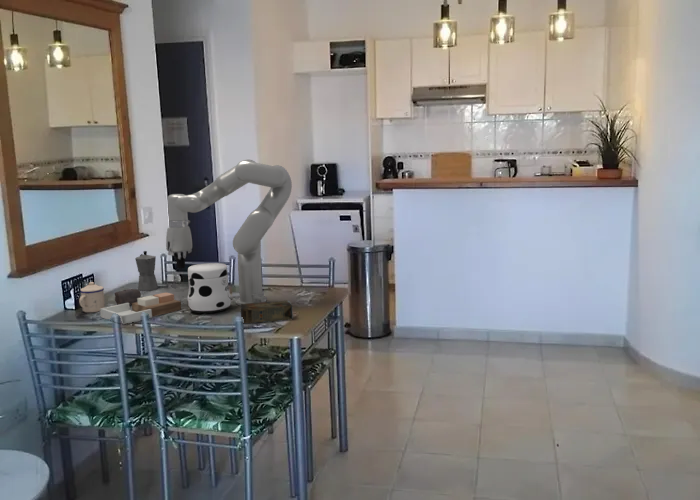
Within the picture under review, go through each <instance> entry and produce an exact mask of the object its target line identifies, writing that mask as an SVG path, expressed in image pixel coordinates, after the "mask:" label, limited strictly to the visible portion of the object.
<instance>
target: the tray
mask: <svg viewBox="0 0 700 500" xmlns="http://www.w3.org/2000/svg"><path fill="white" fill-rule="evenodd" d="M130 306H131V305H129V303H124V304H119V305H117V304H116V305H111V306H107V307H106V306H105V308H101V309H100V311H99V312H100V313H99V314H100V318H102V319H105V320H107V319H110V318H111V316H112V314H113V313H116V314H118V315H119V316H120V318H121V321H122V323H123V324H125V323H130V324H133V323H132V322H134V323H137V322H138V323H139V322H141V321H140V315H141V313H142V312H145V313H148V314H149V316H150V318H151V319H153V317H152V311H151V309H148V310H144V311H139V312H135V311H132V310H131V308H130Z"/></svg>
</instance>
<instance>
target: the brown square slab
mask: <svg viewBox="0 0 700 500" xmlns="http://www.w3.org/2000/svg"><path fill="white" fill-rule="evenodd" d="M131 309H132V311H135V312H139V311H144V310H148V309H151V311H152V318H153V317H157V316H160V315H165V314H170V313H173V312H174V313H175V312H178V310H179V311H182V302H181V300H176V299H174V300H173V301H169V302H164V303H159V304H155V305H151V306H146V307H145V306H142V305H138V301H137V302H135V303H132V305H131Z"/></svg>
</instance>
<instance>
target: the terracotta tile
mask: <svg viewBox="0 0 700 500" xmlns="http://www.w3.org/2000/svg"><path fill="white" fill-rule="evenodd" d="M152 296H155V297H158V298H159V303H164V302H169V301H173V300H175V294H174V293H170V292H161V293H156V294H153V295H152Z"/></svg>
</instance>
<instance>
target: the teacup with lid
mask: <svg viewBox="0 0 700 500" xmlns="http://www.w3.org/2000/svg"><path fill="white" fill-rule="evenodd" d="M104 290H105V289H104V286H101V285H97V284H96V283H95V282H93V281H91V282H88V284H87V285H86V286H85V287H82V288H80V291H79V292H80V297H79V300H78V301H79V306H80V307H81V308H82V312H84V313H97V312H100V309H101V308H105V307H106V306H105V304H106V303H105V295H104V294H105V293H104Z"/></svg>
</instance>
